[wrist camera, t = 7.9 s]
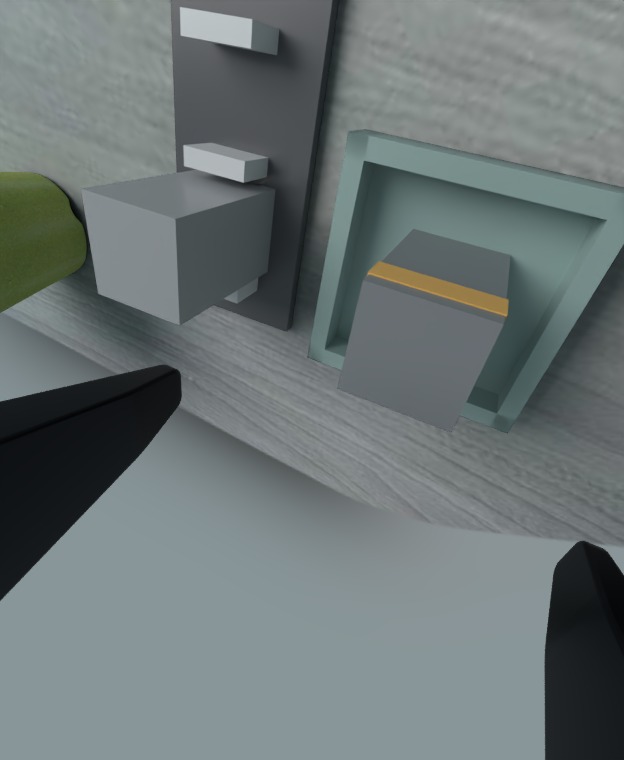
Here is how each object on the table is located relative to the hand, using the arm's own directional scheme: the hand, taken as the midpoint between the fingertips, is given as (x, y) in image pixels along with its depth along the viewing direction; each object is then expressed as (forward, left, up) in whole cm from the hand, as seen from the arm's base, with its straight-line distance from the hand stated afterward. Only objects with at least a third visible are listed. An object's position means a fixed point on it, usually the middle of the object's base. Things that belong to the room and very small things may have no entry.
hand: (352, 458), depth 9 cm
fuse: (0, 0, -12) cm, 12 cm away
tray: (0, 0, -12) cm, 12 cm away
